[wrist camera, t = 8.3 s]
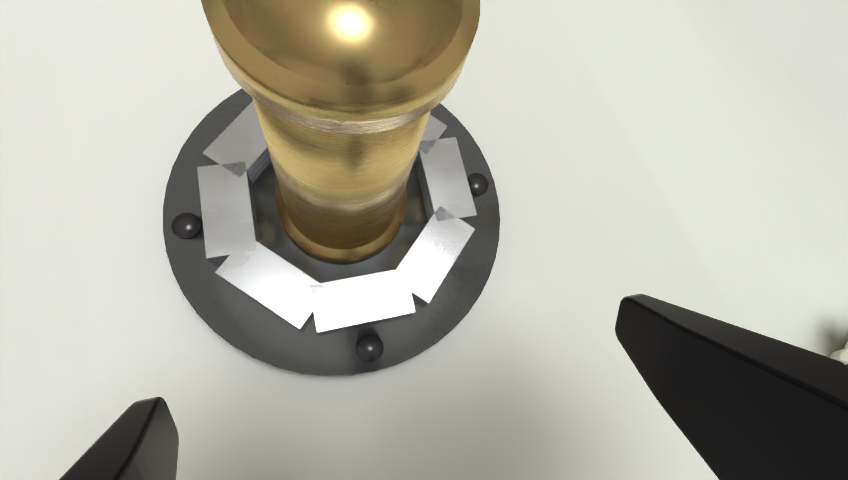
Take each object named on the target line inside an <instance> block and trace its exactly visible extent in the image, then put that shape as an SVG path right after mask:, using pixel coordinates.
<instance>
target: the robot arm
mask: <svg viewBox="0 0 848 480" xmlns="http://www.w3.org/2000/svg"><path fill="white" fill-rule="evenodd" d="M615 332H616V336H617V338H618V340H619V342H620V343H621V345H622V346H623V348H624V349H625V351H626V353H627V354H628V356H629V357H630V359H631V360H632V362H633V363H634V365H635V367H636V368H637V370H638V371H639V373H640V374H641V376H642V378H643V379H644V381H645V382H646V384H647V385H648V387H649V388H650V390H651V391H652V393H653V394H654V396H655V397H656V399H657V400H658V401H659V403H660V404H661V406H662V407H663V408H664V410H665V411H666V412H667V413H668V415H669V416H670V417H671V418H672V420H673V421H674V422H675V424H676V425H677V426H678V427H679V429H680V430H681V431H682V433H683V434H684V435H685V436H686V438H687V439H688V440H689V442H690V443H691V444H692V445H693V447H694V448H695V449H696V451H697V452H698V453H699V454H700V456H701V457H702V458H703V459H704V461H705V462H706V463H707V465H708V466H709V467H710V468H711V470H712V471H713V472H714V474H715V475H716V476H717V477H718V479H719V480H848V364H844V363H843V362H841V361H838V360H835V359H832V358H829V357H826V356H823V355H820V354H817V353H814V352H811V351H808V350H805V349H803V348H800V347H797V346H794V345H791V344H788V343H785V342H782V341H779V340H776V339H773V338H770V337H767V336H764V335H761V334H759V333H756V332H753V331H750V330H747V329H744V328H741V327H738V326H735V325H732V324H729V323H726V322H723V321H720V320H717V319H714V318H712V317H709V316H706V315H703V314H700V313H697V312H694V311H691V310H688V309H685V308H682V307H679V306H676V305H673V304H670V303H667V302H665V301H662V300H659V299H656V298H653V297H650V296H647V295H644V294H636V295H631V296H627V297H624V298H623V299H622V300H621V302H620V306H619V311H618V316H617V321H616V325H615ZM178 445H179V438H178V431H177V428H176V426H175V423H174V421H173V418H172V416H171V413H170V411H169V408H168V406H167V404H166V402H165V400H164V399H163V398H161V397H155V398H150V399H145V400H141V401H137V402H135V403H133V404H132V405H131V406H130V407H129V408H128V409H127V410H126V411H125V412H124V413H123V414H122V415H121V416H120V417H119V418H118V419H117V420H116V421H115V422H114V423H113V424H112V425H111V426H110V427H109V429H108V430H107V431H106V432H105V433H104V434H103V435H102V436H101V437H100V438H99V439H98V440H97V441H96V442H95V443H94V444H93V445H92V446H91V447H90V448H89V449H88V450H87V451H86V452H85V453H84V454H83V455H82V456H81V457H80V459H79V460H78V461H77V462H76V463H75V464H74V465H73V466H72V467H71V468H70V469H69V470H68V471H67V472H66V473H65V474H64V475H63V476H62V477H61V478H60V479H59V480H176V470H177V458H178Z"/></svg>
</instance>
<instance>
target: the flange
mask: <svg viewBox="0 0 848 480" xmlns="http://www.w3.org/2000/svg"><path fill="white" fill-rule="evenodd" d="M277 181H278V180H277V177H276V174H275V171H274V167H273V164H272V161H271V158H270V154H269V151H268V148H267V144H266V141H265V138H264V135H263V131H262V128H261V125H260V121H259V118H258V115H257V112H256V108H255V105H254V102H253V99H252V97H251V96H250V95H249V94H248V93H246V92H245V91H244V90H243V88H242V89H240V90H239V91H237V92H236V93H234V94H233V95H231V96H230V97H228V98H227V99H225V100H224V101H222V102H221V103H220V104H219V105H218V106H217V107H215V108H214V109H213V110H212V111H211V112H210V113H209V114H207V115H206V117H205V118H204V119H203V120H202V121H201V122H200V123H199V125H198V126H197V127H196V128H195V129H194V130H193V132H192V133H191V135H190V136H189V138H188V139H187V141H186V142H185V144H184V145H183V147H182V148H181V150H180V153H179V155H178V157H177V159H176V161H175V163H174V165H173V167H172V171H171V174H170V177H169V180H168V184H167V187H166V193H165V200H164V206H163V232H164V239H165V245H166V252H167V255H168V258H169V261H170V264H171V268H172V271H173V274H174V276H175V278H176V280H177V282H178V284H179V286H180V288H181V290H182V292H183V294H184V295H185V297H186V298H187V300H188V301H189V302H190V304H191V305H192V307H193V308H194V310H195V311H196V312H197V314H198V315H199V316H200V317H201V318H202V319H203V320H204V321H205V322H206V323H207V324H208V325H209V326H210V327H211V328H212V329H213V331H215V332H216V333H217V334H219V335H220V336H221V337H222V338H224V339H225V340H226V341H228V342H229V343H230V344H231V345H233V346H234V347H236V348H238V349H240V350H241V351H243V352H245V353H247V354H248V355H250V356H252V357H254V358H256V359H258V360H261V361H263V362H266V363H268V364H271V365H273V366H276V367H279V368H283V369H287V370H291V371H295V372H299V373H303V374H312V375H322V376H345V375H355V374H361V373H367V372H373V371H376V370H380V369H383V368H386V367H390V366H393V365H396V364H398V363H401V362H403V361H405V360H407V359H409V358H411V357H414V356H416V355H418V354H420V353H421V352H423V351H424V350H426V349H428V348H429V347H431V346H432V345H434V344H435V343H437V342H438V341H439V340H441V339H442V338H443V337H444V336H445V335H447V334H448V333H449V332H450V331H451V330H452V329H454V328H455V327H456V325H457V324H458V323H459V322H460V321H461V320H462V319H463V318H464V317H465V315H466V314H467V313H468V312H469V311H470V309H471V308H472V306H473V305H474V303H475V302H476V300H477V299H478V297H479V296H480V294H481V292H482V290H483V288H484V286H485V284H486V282H487V280H488V278H489V276H490V273H491V270H492V267H493V264H494V261H495V257H496V252H497V247H498V241H499V228H500V215H499V203H498V197H497V193H496V188H495V183H494V180H493V178H492V175H491V172H490V169H489V166H488V164H487V162H486V160H485V158H484V156H483V154H482V152H481V150H480V148H479V147H478V145H477V144H476V142H475V141H474V139H473V138H472V136H471V135H470V133H469V132H468V131H467V130H466V128H465V127H464V126H463V125H462V124H461V123H460V121H459V120H458V119H457V118H456V117H455V116H454V115H453V114H452V113H450V112H449V111H448V110H447V109H446V108H445V107H444V106H443V105H441V104H440V103H439V104H438V105H437V106H436V107H435V108H433V109H432V110H431V112H430V115H429V118H428V121H427V124H426V127H425V130H424V133H423V136H422V139H421V142H420V145H419V148H418V151H417V154H416V157H415V160H414V163H413V166H412V169H411V171H410V174H409V177H408V180H407V183H406V190H407V208H406V213H405V216H404V219H403V222H402V224H401V227H400V230H399V232H398V233H397V235H396V237H395V238H394V240H393V241H392V243H391V244H390V245H389V246H388V247H387V248H386V249H385V250H383V251H382V252H381V253H380V254H378V255H376V256H375V257H373V258H371V259H369V260H366V261H363V262H360V263H356V264H350V265H335V264H329V263H324V262H321V261H318V260H315V259H313V258H311V257H310V256H308V255H306V254H305V253H303V252H302V251H300V250H299V249H298V248H297V247H296V246H295V245H294V244H293V243H292V242H291V240H290V239H289V238H288V236H287V234H286V233H285V231H284V229H283V226H282V224H281V221H280V219H279V216H278V212H277V209H276V202H275V191H276V185H277Z"/></svg>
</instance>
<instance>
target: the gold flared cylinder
mask: <svg viewBox="0 0 848 480" xmlns="http://www.w3.org/2000/svg"><path fill="white" fill-rule="evenodd" d="M201 2H202V5H203V9H204V12H205V15H206V17H207V20H208V23H209V26H210V28H211V31H212V34H213V37H214V40H215V42H216V45H217V48H218V51H219V53H220V55H221V57H222V59H223V62H224V64H225V66H226V67H227V69H228V70H229V72H230V73H231V75H232V76H233V78H234V79H235V80H236V82H237V83H238V84H239V85H240V86H241V87H242V88H243V90H244V91H245V92H246V93H248V94H249V95H250V96H251V97H252V99H253V102H254V105H255V108H256V112H257V115H258V118H259V121H260V125H261V128H262V131H263V135H264V138H265V141H266V144H267V148H268V151H269V154H270V158H271V161H272V164H273V167H274V171H275V174H276V177H277V180H278V181H277V185H276V191H275V202H276V209H277V212H278V216H279V219H280V221H281V224H282V226H283V229H284V231H285V233H286V234H287V236H288V238H289V239H290V240H291V242H292V243H293V244H294V245H295V246H296V247H297V248H298V249H299V250H300V251H302V252H303V253H305V254H306V255H308V256H310V257H311V258H313V259H315V260H318V261H321V262H324V263H329V264H335V265H350V264H356V263H360V262H363V261H366V260H369V259H371V258H373V257H375V256H376V255H378V254H380V253H381V252H382V251H383V250H385V249H386V248H387V247H388V246H389V245H390V244H391V243H392V241H393V240H394V238H395V237H396V235H397V233H398V232H399V230H400V227H401V224H402V222H403V219H404V216H405V213H406V208H407V190H406V183H407V180H408V177H409V174H410V171H411V169H412V166H413V163H414V160H415V157H416V154H417V151H418V148H419V145H420V142H421V139H422V136H423V133H424V130H425V127H426V124H427V121H428V118H429V115H430V112H431V110H432V109H433V108H435V107H436V106H437V105H438V104H439V103H440V102H441V101H442V100H443V99H444V98H445V97H446V96H447V94H448V93H449V92H450V91H451V89H452V88H453V86H454V84H455V83H456V81H457V79H458V77H459V75H460V73H461V70H462V67H463V65H464V62H465V60H466V57H467V55H468V52H469V49H470V47H471V44H472V42H473V39H474V36H475V33H476V31H477V28H478V22H479V16H480V0H201Z"/></svg>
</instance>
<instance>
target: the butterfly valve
mask: <svg viewBox="0 0 848 480" xmlns="http://www.w3.org/2000/svg"><path fill="white" fill-rule="evenodd" d="M830 358H832V359H835V360H838V361H841V362H843V363H844V364H848V341H847V343H846V345H845V347H844V349H841V350H838V351H835V352H832V353H831V355H830Z"/></svg>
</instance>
